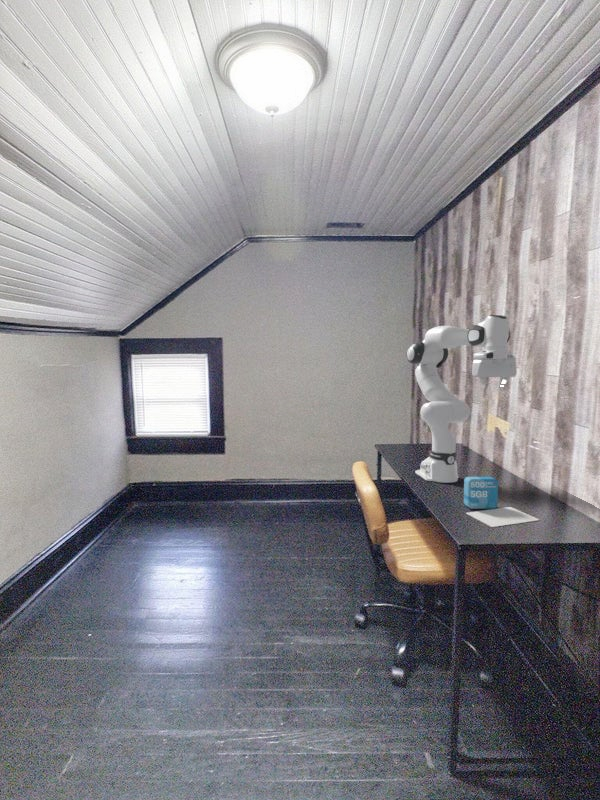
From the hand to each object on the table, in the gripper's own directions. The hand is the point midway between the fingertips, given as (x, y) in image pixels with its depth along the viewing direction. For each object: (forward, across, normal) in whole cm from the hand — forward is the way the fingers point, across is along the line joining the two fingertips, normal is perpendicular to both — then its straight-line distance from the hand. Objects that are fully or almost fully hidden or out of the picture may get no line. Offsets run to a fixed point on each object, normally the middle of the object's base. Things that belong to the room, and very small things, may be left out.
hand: (493, 388), depth 176 cm
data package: (+48, +10, +7) cm, 49 cm away
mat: (+48, +9, +18) cm, 52 cm away
